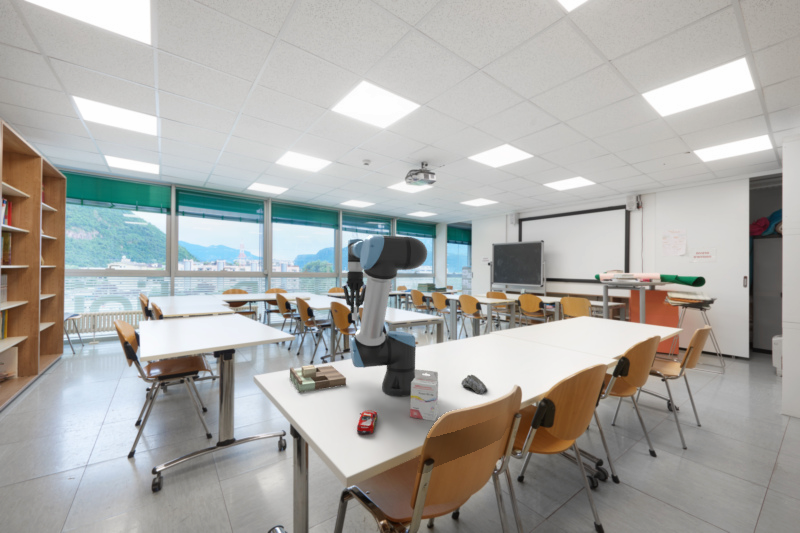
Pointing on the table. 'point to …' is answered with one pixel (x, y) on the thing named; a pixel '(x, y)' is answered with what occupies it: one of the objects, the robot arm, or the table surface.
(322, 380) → the multicoloured piece
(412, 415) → the ink cartridge box
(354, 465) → the table surface
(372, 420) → the race car
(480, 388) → the fossilized seashell
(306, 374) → the birch block
